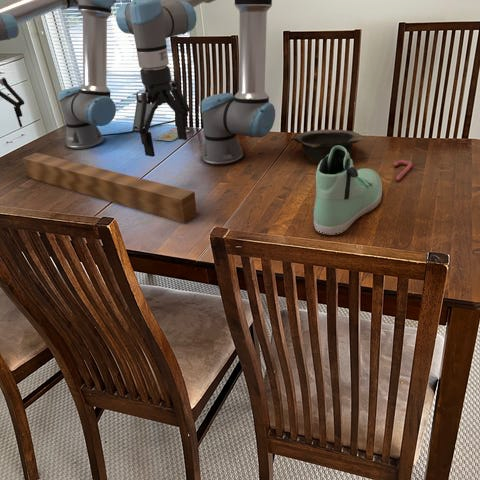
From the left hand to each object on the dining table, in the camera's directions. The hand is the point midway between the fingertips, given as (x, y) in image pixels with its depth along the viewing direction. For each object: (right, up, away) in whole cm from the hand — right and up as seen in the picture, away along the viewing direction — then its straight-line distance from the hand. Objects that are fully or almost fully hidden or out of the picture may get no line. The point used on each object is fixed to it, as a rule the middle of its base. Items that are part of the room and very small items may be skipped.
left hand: (0, 130), depth 164 cm
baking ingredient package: (+53, +7, +41) cm, 68 cm away
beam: (+37, -22, -5) cm, 43 cm away
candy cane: (+135, -15, -7) cm, 136 cm away
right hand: (+62, -12, -32) cm, 71 cm away
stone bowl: (+114, -7, +10) cm, 115 cm away
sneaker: (+114, -28, -25) cm, 120 cm away
